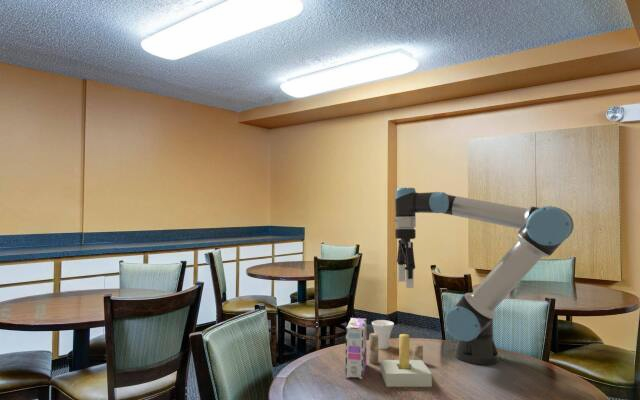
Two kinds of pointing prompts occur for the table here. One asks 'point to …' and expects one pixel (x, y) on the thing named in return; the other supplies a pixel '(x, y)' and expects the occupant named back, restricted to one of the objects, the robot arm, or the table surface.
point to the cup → (383, 332)
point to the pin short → (418, 352)
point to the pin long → (403, 351)
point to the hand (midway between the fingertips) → (405, 284)
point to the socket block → (406, 374)
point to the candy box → (356, 348)
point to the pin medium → (373, 348)
